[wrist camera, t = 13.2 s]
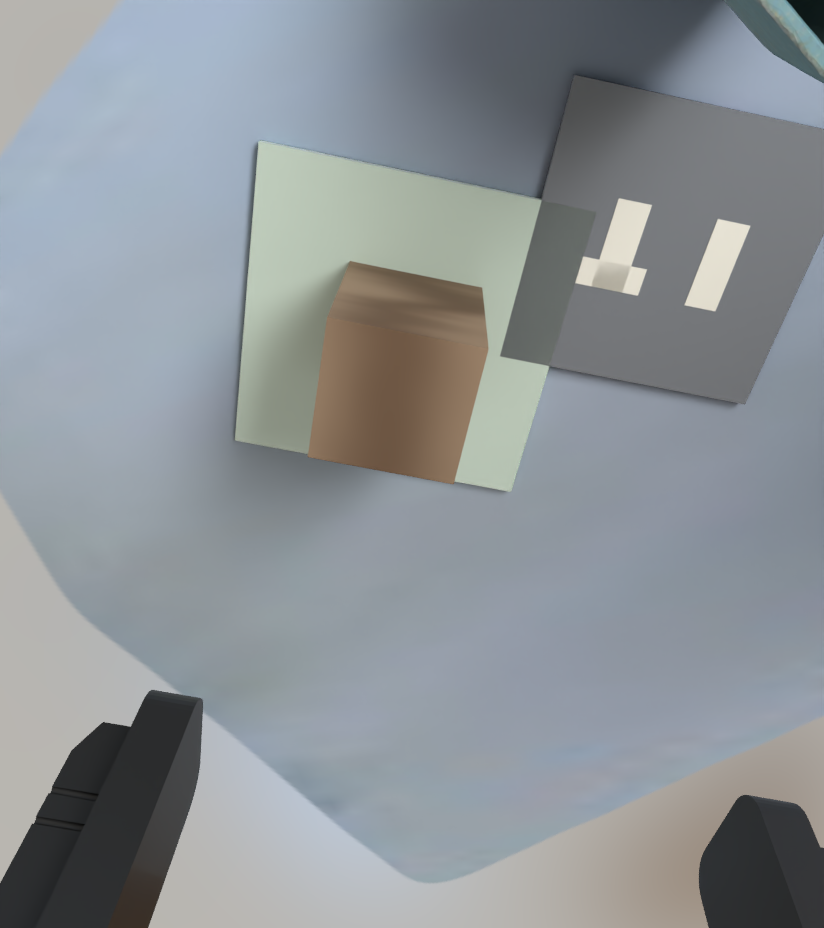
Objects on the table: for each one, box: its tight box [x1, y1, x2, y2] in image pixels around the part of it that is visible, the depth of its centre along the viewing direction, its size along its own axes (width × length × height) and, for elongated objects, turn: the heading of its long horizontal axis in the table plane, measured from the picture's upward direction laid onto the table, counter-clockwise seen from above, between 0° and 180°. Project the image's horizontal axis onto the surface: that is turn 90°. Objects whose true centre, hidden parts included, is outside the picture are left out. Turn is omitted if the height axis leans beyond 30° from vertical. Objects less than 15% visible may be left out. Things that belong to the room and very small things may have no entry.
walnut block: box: [308, 261, 489, 484], centre depth 27 cm, size 5×5×6 cm
